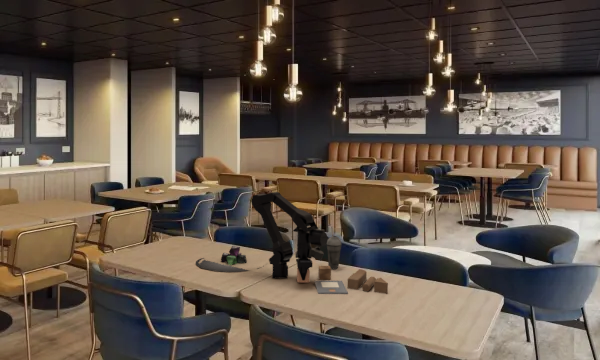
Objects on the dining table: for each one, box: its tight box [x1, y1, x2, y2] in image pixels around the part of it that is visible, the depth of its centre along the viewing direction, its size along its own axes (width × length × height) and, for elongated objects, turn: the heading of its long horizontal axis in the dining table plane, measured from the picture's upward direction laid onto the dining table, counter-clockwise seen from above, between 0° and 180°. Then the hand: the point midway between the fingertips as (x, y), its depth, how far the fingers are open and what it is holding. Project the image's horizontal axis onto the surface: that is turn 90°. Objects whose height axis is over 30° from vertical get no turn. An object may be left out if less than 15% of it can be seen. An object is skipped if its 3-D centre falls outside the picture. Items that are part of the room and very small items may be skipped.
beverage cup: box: [325, 226, 342, 271], centre depth 241 cm, size 7×7×20 cm
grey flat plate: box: [314, 280, 349, 295], centre depth 212 cm, size 12×16×1 cm
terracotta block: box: [296, 267, 310, 283], centre depth 219 cm, size 5×5×5 cm
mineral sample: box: [195, 245, 263, 273], centre depth 249 cm, size 35×35×9 cm
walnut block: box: [317, 265, 332, 281], centre depth 226 cm, size 5×5×5 cm
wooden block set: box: [346, 268, 389, 295], centre depth 216 cm, size 17×6×18 cm
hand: (303, 278), depth 219 cm, fingers closed on terracotta block, 5 cm apart
